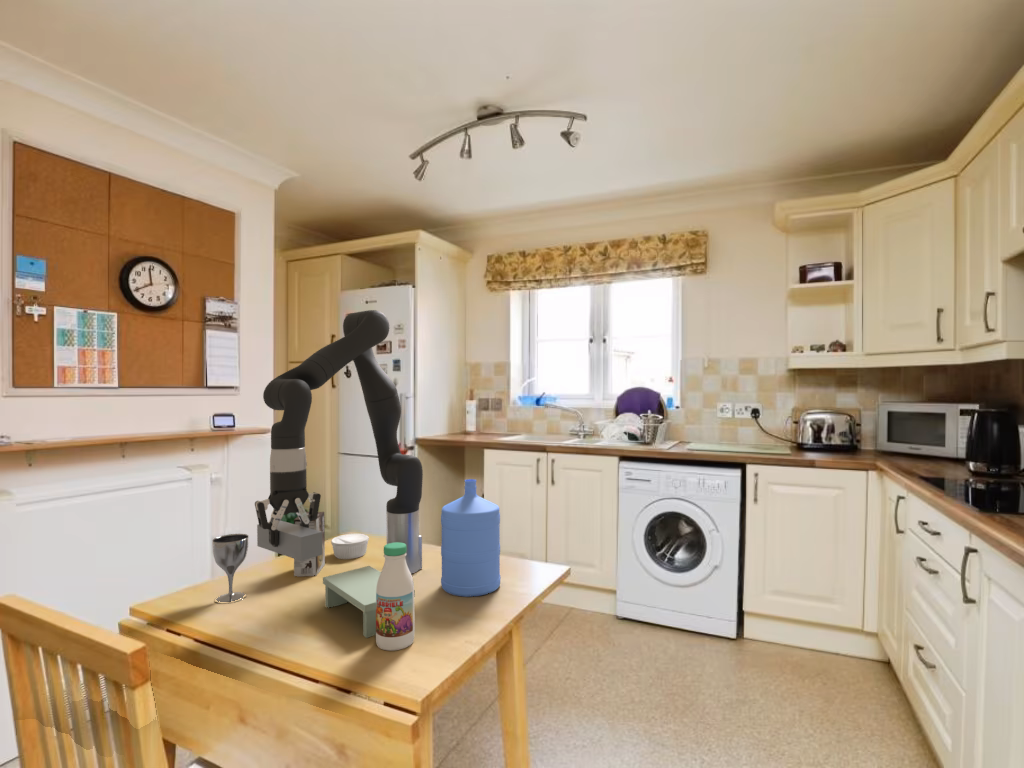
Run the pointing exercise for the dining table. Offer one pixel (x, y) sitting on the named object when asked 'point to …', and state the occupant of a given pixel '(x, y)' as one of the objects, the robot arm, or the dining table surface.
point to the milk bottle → (395, 600)
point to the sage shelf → (355, 593)
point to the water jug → (470, 545)
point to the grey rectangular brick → (292, 541)
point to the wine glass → (230, 559)
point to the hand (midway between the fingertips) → (289, 542)
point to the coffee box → (315, 563)
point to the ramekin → (350, 546)
